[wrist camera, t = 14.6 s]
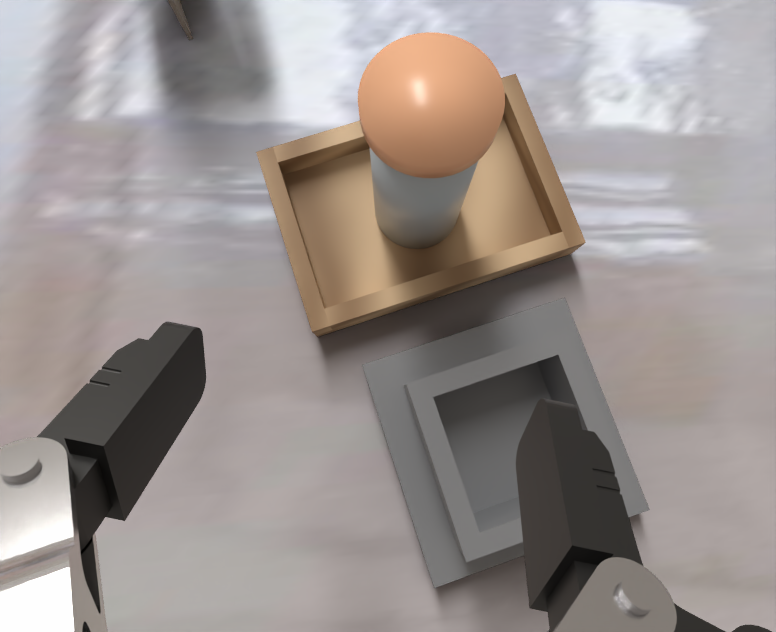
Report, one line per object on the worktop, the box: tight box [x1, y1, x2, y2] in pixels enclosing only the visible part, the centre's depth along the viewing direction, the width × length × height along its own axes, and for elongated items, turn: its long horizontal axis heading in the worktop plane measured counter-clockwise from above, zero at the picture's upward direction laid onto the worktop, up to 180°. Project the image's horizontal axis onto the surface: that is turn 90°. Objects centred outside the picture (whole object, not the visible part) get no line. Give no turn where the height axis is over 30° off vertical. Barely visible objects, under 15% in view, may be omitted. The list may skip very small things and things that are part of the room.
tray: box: [256, 74, 586, 337], centre depth 29 cm, size 16×11×2 cm
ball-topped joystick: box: [358, 33, 505, 249], centre depth 24 cm, size 6×6×11 cm
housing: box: [362, 298, 650, 588], centre depth 26 cm, size 12×12×5 cm
